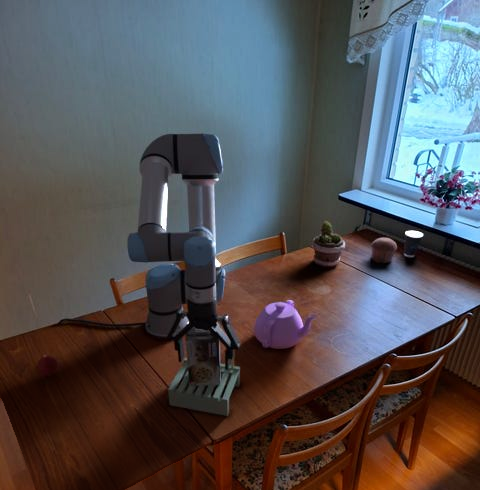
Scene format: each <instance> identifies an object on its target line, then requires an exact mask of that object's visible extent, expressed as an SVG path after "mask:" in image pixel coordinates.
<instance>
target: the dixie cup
mask: <svg viewBox="0 0 480 490" xmlns="http://www.w3.org/2000/svg"><path fill="white" fill-rule="evenodd" d="M404 234H405V238H404V245H403V246H404V247H403V256H404V257H407V258H414V257H415V256H416V255H417V252H418V249H419V246H420V243H421V241H422V238H423V237H424V233H423V232H420V231H417V230H406V231H405V233H404Z"/></svg>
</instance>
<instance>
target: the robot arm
mask: <svg viewBox="0 0 480 490" xmlns="http://www.w3.org/2000/svg"><path fill="white" fill-rule="evenodd" d="M139 160H140V161H139V174H140V175H141V187H140V196H139V197H140V198H139V199H140V200H139V209H138V219H137V220H138V223H137V232H130V233H129V234H128V236H127V239H126V241H127V242H126V246H127V254H128V258H129V260H130V261H131V262H132V263H133V262H134V263H146V264H148V263H162V264H157V265H156V266H154V267H152V268H150V269H149V270H148V271H147V272H146V274H145V289H146V295H147V296H146V297H147V305H148V312H147V317H146V321H144V322H143V321H142V322H131V323H106V322H100V321H93V320H87V319H81V318H69V317H68V318H62V319H60V320H58V322H57V324H62V323H63V322H76V323H84V324H90V325H91V324H92V325H97V326H103V327H115V328H117V327H136V326H145V331H146V333H147V334H148V336H150V337H151V338H153V339H158V340H172V341H173V345H174V348H173V349H174V351H176V352H177V358H178V359H177V360H178V363H183V361H184V358H185V345H184V336H186V333H187V332H188V331H189V330H191V329H192V328H193V327H195V328H196V329H202V330H206V331H207V330H209V331H210V332H211V333H212V334H214V335H215V336H216V337H217V338H219V340H220V344H222V345H223V346H224V347H225V349H224V364H225V370H228V369H229V366H230V365H231V360H232V358H233V356H234V357H235V351H238V350H239V349H240V347H241V344H242V343H241V341H240V338H239V337H238V335H237V333H236V331H235V330H234V328H233V326H232V324H231V322H230V316H229V314H224V316H223V315H218V312H217V311H218V310H217V309H218V307H217V306H218V305H217V304H218V303H220V302H221V301H222V300H223V297H224V293H225V292H224V291H225V283H226V280H225V279H226V269H225V268H222V265H221V262H219V260H218V259H217V245H216V242H217V241H216V208H215V207H216V206H215V202H216V201H215V185H216V183H218V181H219V175H221V174H223V173H224V167H223V158H222V151H221V146H220V140H219V138H218V136H217V135H216V134H214V133H204V132H203V133H202V132H201V133H166V134H163V135H160V136H158V137H157V138H155V139H153V140H152V141H151V142H150V143H149V144H148V145H147V146H146V148H145V150H144V151H143V153H142V154H141V158H140V159H139ZM172 175H181V181H182V182H183V183H184V184H185V185H186V191H187V193H186V194H187V215H188V231H176V232H171V231H170V232H167V230H168V229H167V228H168V227H167V223H168V199H169V198H168V197H169V180H170V179H171V177H172ZM164 262H165V263H164ZM166 262H167V263H166ZM168 262H173V263H168ZM174 262H184V269H181V268H180V266H179V265H177V264H174ZM183 305H186V306H187V311H186V310H184V308H183ZM218 322H219V323H220V324H219V323H218ZM213 326H214V327H213ZM220 326H222V328H223V329H222V328H221V327H220Z"/></svg>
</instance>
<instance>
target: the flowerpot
mask: <svg viewBox="0 0 480 490" xmlns="http://www.w3.org/2000/svg"><path fill="white" fill-rule="evenodd" d="M333 229H334V226H333V223H332V222H330V221H329V219H327V220H323V221H322V224H321V225H319V231H320V234H319V235H317V236H315V237H314V238H313V240H312V242H311V243H312V244H311V245H312V248H313V250H314V251H313V252H314V254H313V260H314V262H315V264H316V265H318V266H319V267H322V268H334V267H336V266H337V265H338V264H339V263H340V261H341V255H342V252H343V251H345V247H346V242H345V241H344V239H342V236H340V234H338V233H337V232H335V233H333Z"/></svg>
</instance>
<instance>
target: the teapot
mask: <svg viewBox="0 0 480 490" xmlns="http://www.w3.org/2000/svg"><path fill="white" fill-rule="evenodd" d="M316 318H318V315H316V314H310V315H308V316H307V317H306V319H305V320H304V323H303V320H302V318H301V316H300V313H298V311H297V310H296V308H295V302H294V301H293V300H291V299H286V300H285V302H282V301H278V302H277V301H276V302H271V303H269V304H267V305H266V306H265V307H264V308H263V310H262V311H261V312H260V313H259V315H258V316H257V317H256V319H255V322H254V326H253V334H254V336H255V338H256V339H257V340H258V341H259V342H260V343H261V345H262V347H263V348H271V349H276V350H284V349H289V348H292V347H294V346H295V345H297V344H298V343H299V342H300V341H302V339H303V338H305V337H307V335H308V334H309V333H310V330H311V324H312V321H313V320H314V319H316Z"/></svg>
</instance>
